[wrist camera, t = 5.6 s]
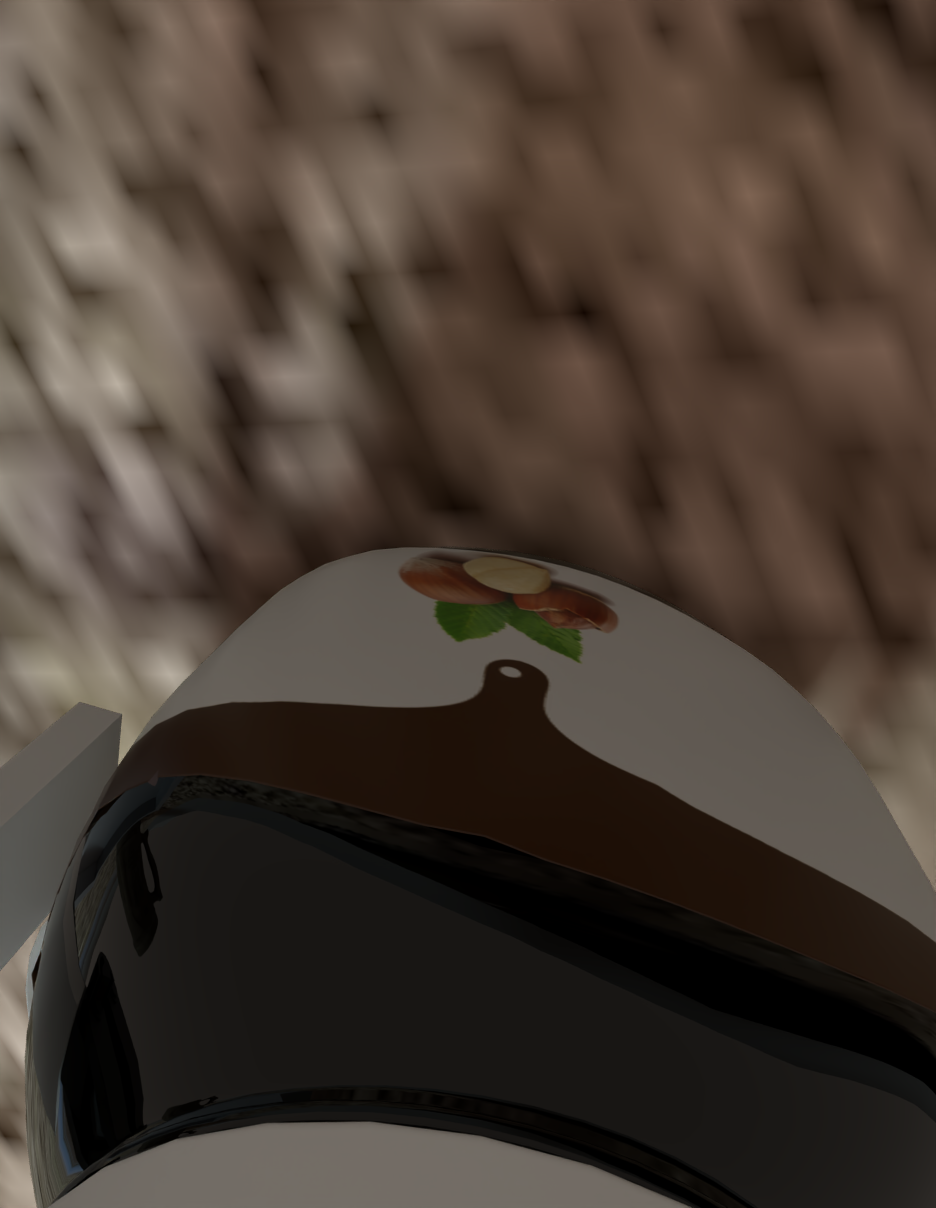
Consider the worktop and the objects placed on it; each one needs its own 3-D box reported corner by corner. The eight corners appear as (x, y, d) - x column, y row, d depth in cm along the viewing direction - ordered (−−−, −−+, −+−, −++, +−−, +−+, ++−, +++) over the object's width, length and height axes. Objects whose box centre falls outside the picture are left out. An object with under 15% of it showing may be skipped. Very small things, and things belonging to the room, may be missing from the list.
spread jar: (876, 644, 14) (1832, 1835, 3) (635, 1076, 18) (704, 2193, 8) (214, 426, 14) (-946, 875, 3) (131, 905, 19) (-497, 1766, 8)
